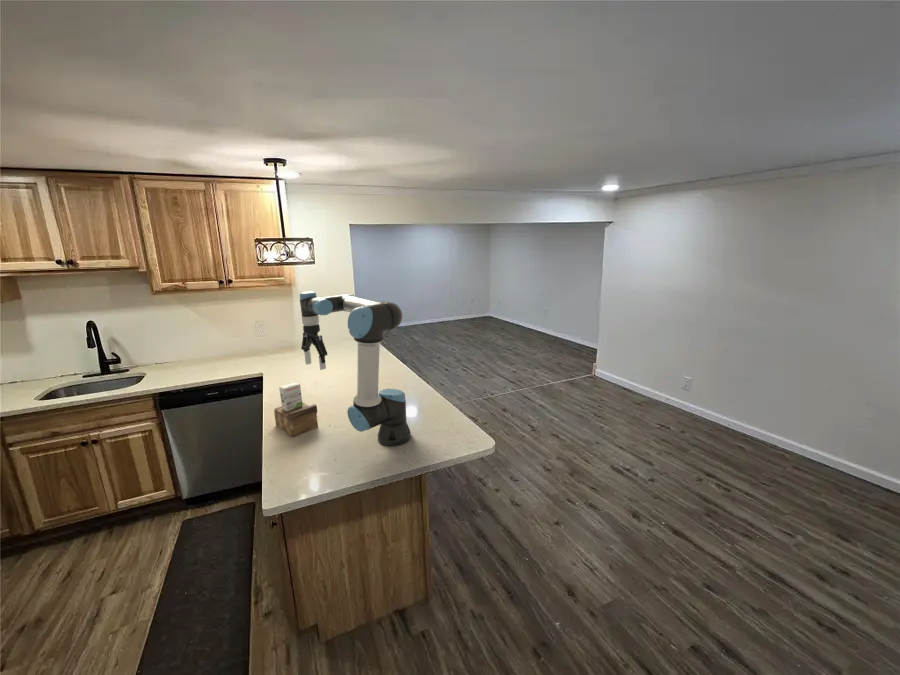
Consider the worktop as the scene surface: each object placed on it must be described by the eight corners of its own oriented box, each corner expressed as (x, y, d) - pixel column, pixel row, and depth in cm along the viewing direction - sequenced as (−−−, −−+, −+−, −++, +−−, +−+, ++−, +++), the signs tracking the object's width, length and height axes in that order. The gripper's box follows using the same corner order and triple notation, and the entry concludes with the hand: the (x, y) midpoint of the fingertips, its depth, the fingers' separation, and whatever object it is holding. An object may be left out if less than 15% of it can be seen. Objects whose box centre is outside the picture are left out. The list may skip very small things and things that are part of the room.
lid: (317, 412, 192) (316, 405, 191) (291, 421, 183) (290, 414, 182) (300, 402, 204) (299, 395, 204) (274, 410, 196) (273, 402, 195)
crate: (318, 427, 195) (316, 412, 193) (292, 437, 186) (290, 421, 184) (301, 416, 207) (299, 402, 205) (275, 425, 198) (274, 410, 196)
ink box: (298, 403, 201) (295, 381, 198) (303, 406, 198) (300, 383, 195) (281, 409, 195) (278, 386, 192) (286, 411, 192) (283, 388, 189)
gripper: (332, 326, 186) (336, 369, 191) (305, 320, 203) (309, 360, 208) (317, 329, 181) (322, 373, 186) (291, 322, 197) (296, 363, 202)
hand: (315, 366), depth 197 cm, fingers open, 13 cm apart
